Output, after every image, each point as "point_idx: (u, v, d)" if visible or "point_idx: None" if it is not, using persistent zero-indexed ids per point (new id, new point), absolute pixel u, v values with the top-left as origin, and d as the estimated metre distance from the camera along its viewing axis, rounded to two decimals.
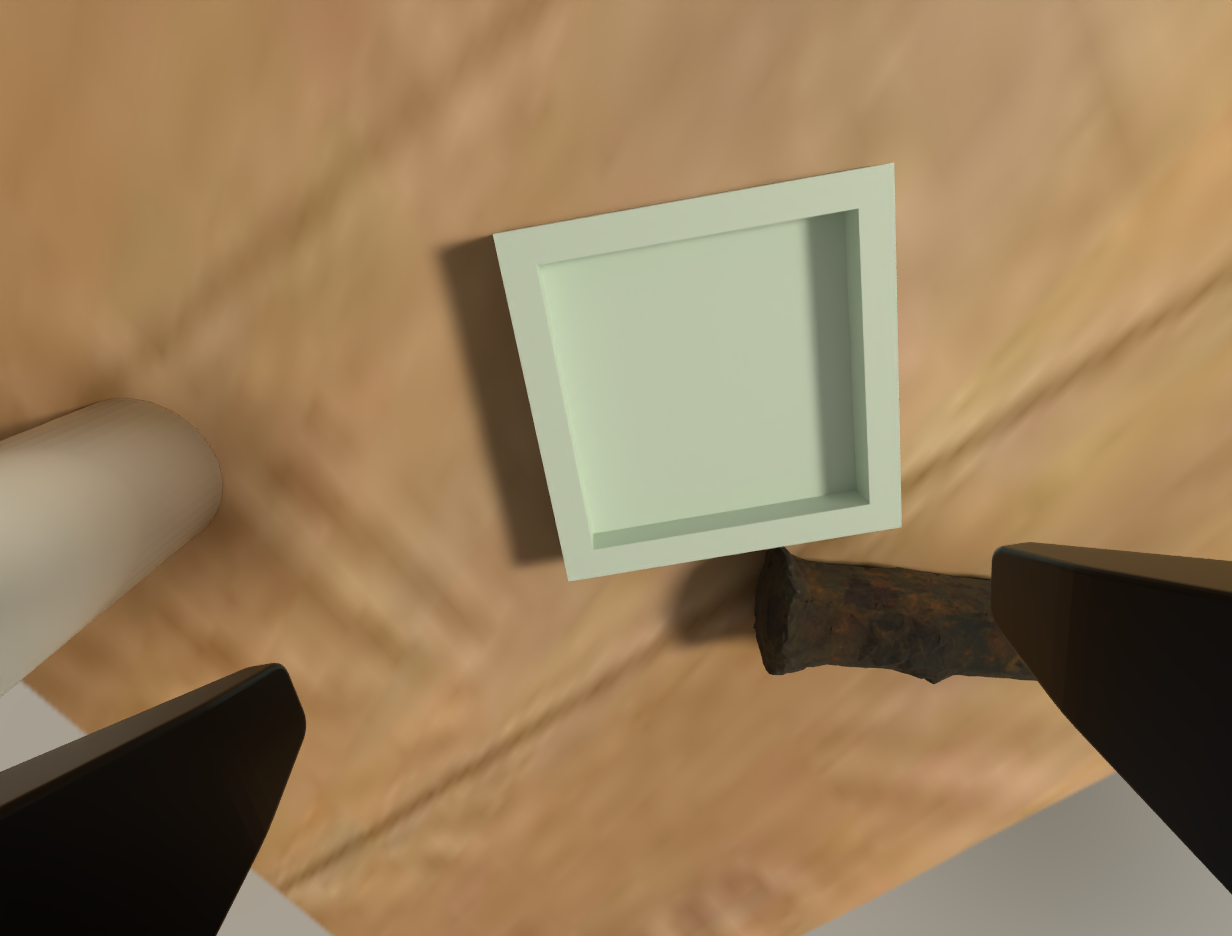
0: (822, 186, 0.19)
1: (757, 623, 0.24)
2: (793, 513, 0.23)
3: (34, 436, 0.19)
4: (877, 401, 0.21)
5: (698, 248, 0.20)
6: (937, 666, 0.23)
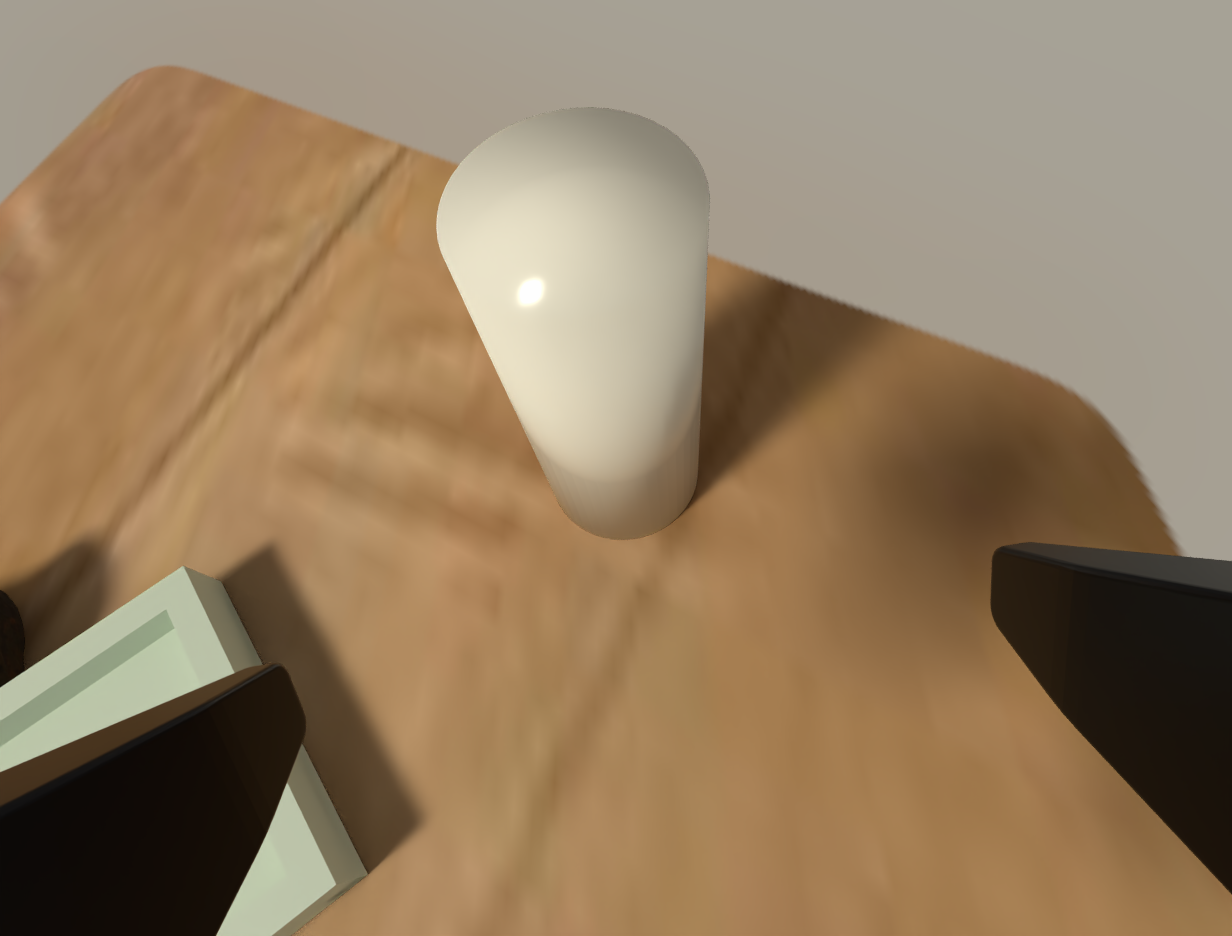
0: None
1: None
2: None
3: (650, 488, 0.20)
4: None
5: None
6: None
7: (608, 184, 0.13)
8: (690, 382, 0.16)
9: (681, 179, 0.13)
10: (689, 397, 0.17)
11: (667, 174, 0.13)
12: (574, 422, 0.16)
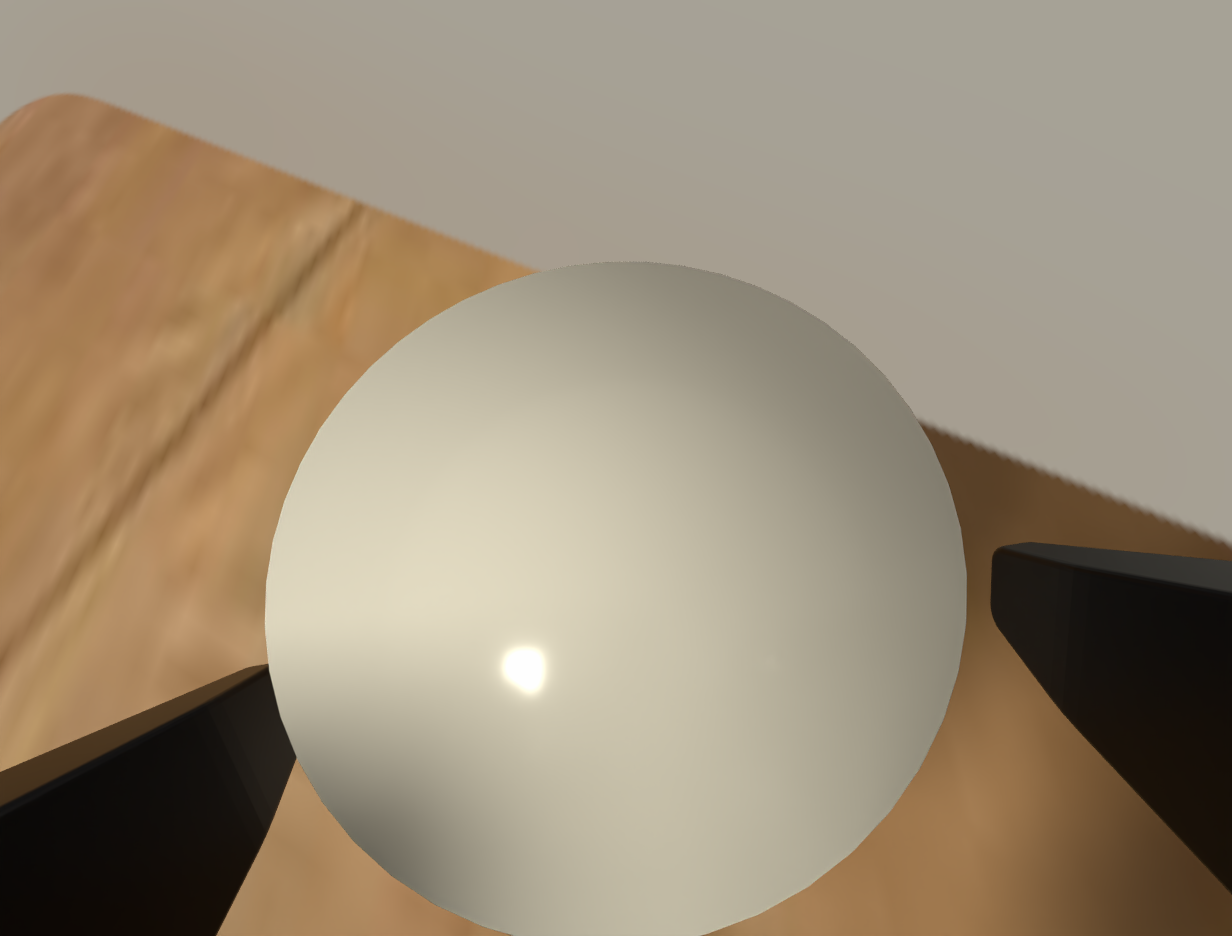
0: None
1: None
2: None
3: None
4: None
5: None
6: None
7: (691, 477, 0.05)
8: None
9: (878, 471, 0.05)
10: None
11: (840, 454, 0.05)
12: None
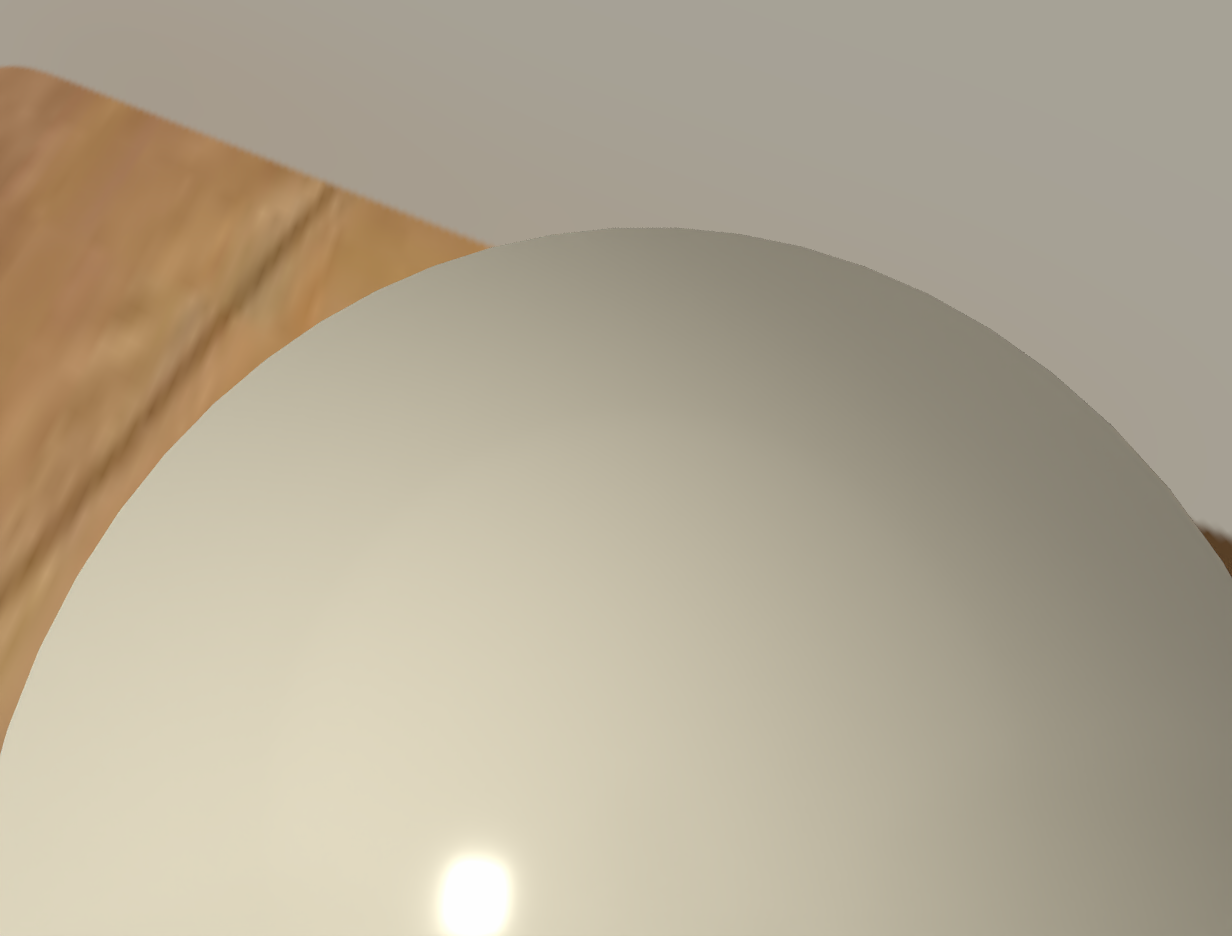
0: None
1: None
2: None
3: None
4: None
5: None
6: None
7: (771, 618, 0.03)
8: None
9: (1126, 613, 0.03)
10: None
11: (1048, 577, 0.03)
12: None
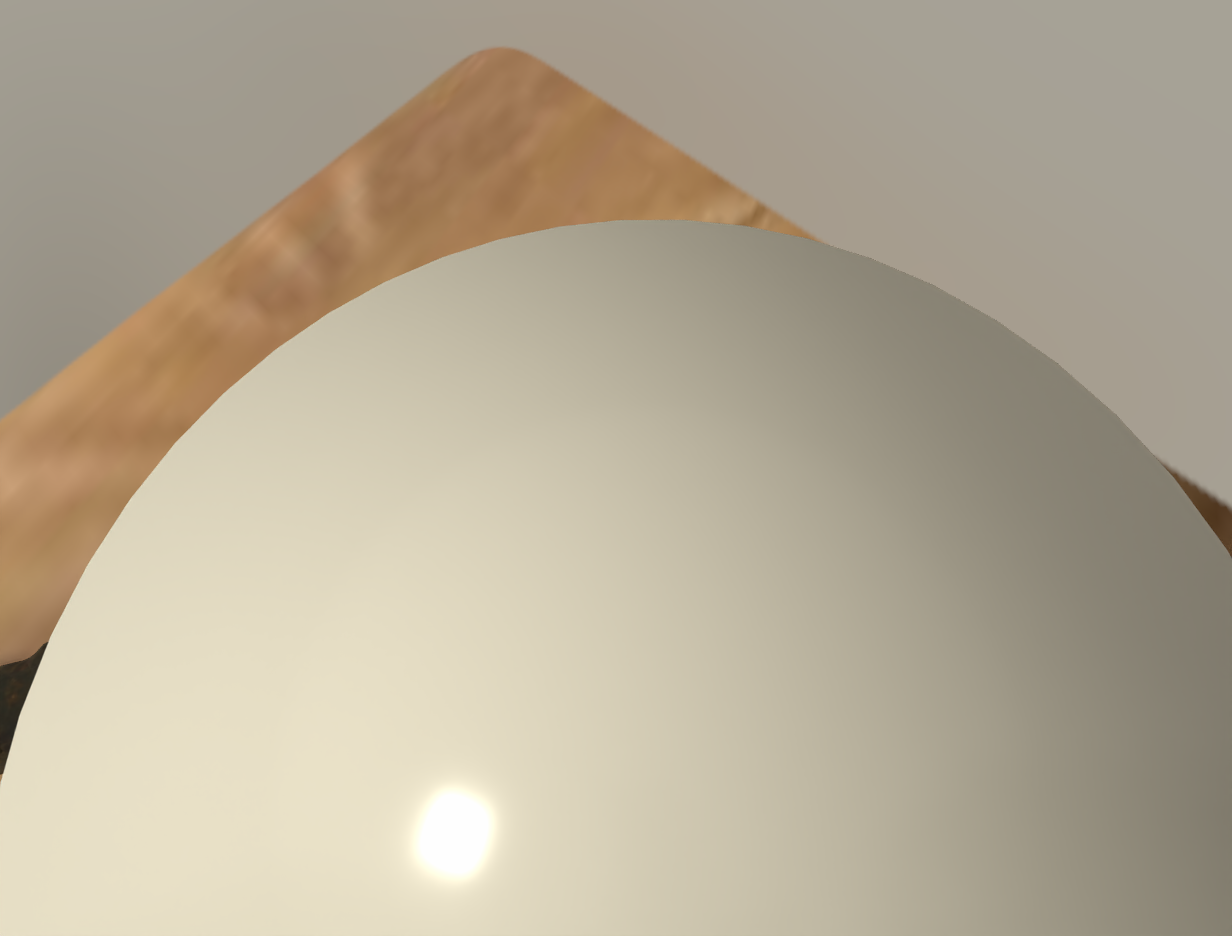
0: None
1: None
2: None
3: None
4: None
5: None
6: None
7: (780, 608, 0.03)
8: None
9: (1131, 600, 0.03)
10: None
11: (1054, 565, 0.03)
12: None
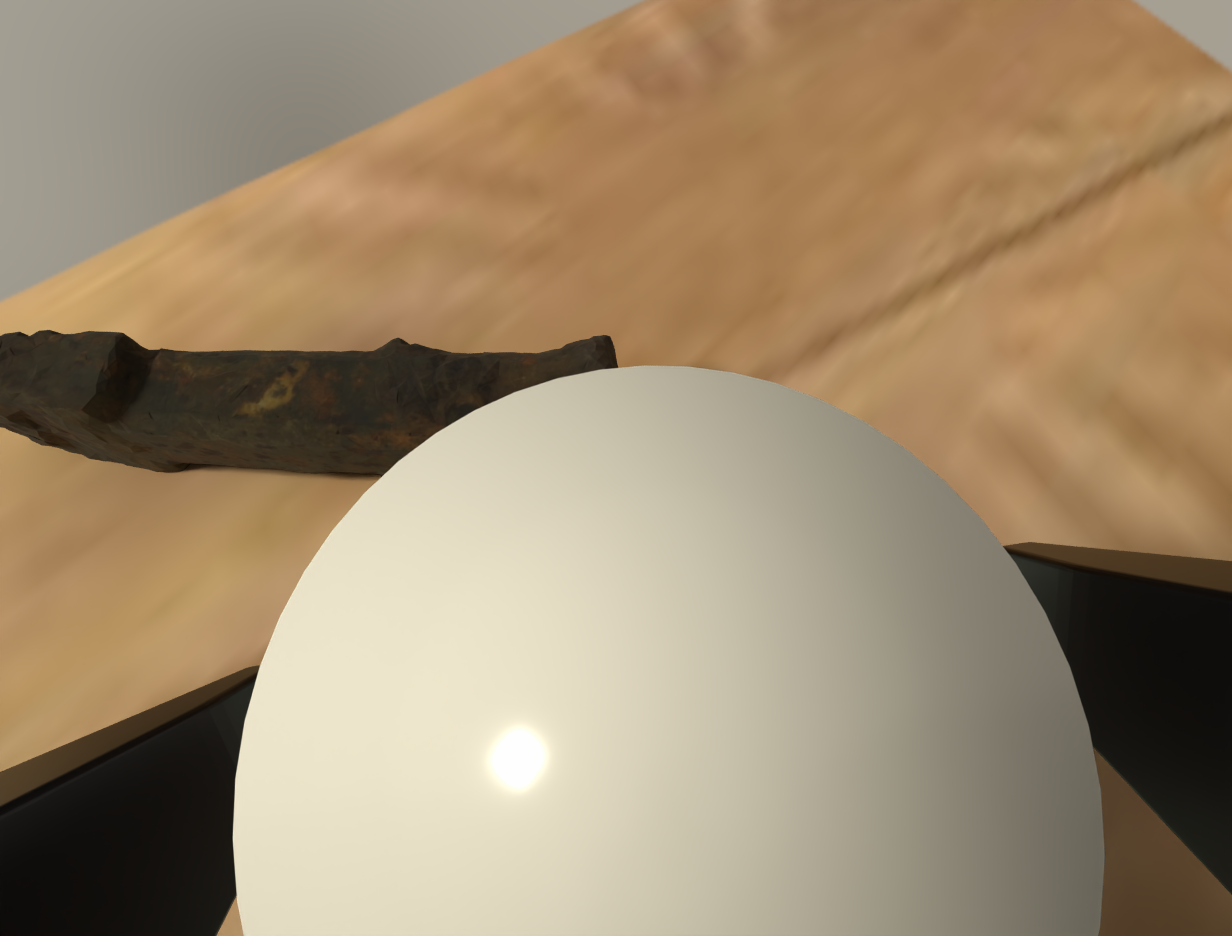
0: None
1: None
2: None
3: None
4: None
5: None
6: (397, 360, 0.18)
7: (752, 650, 0.04)
8: None
9: (981, 646, 0.04)
10: None
11: (933, 622, 0.04)
12: None
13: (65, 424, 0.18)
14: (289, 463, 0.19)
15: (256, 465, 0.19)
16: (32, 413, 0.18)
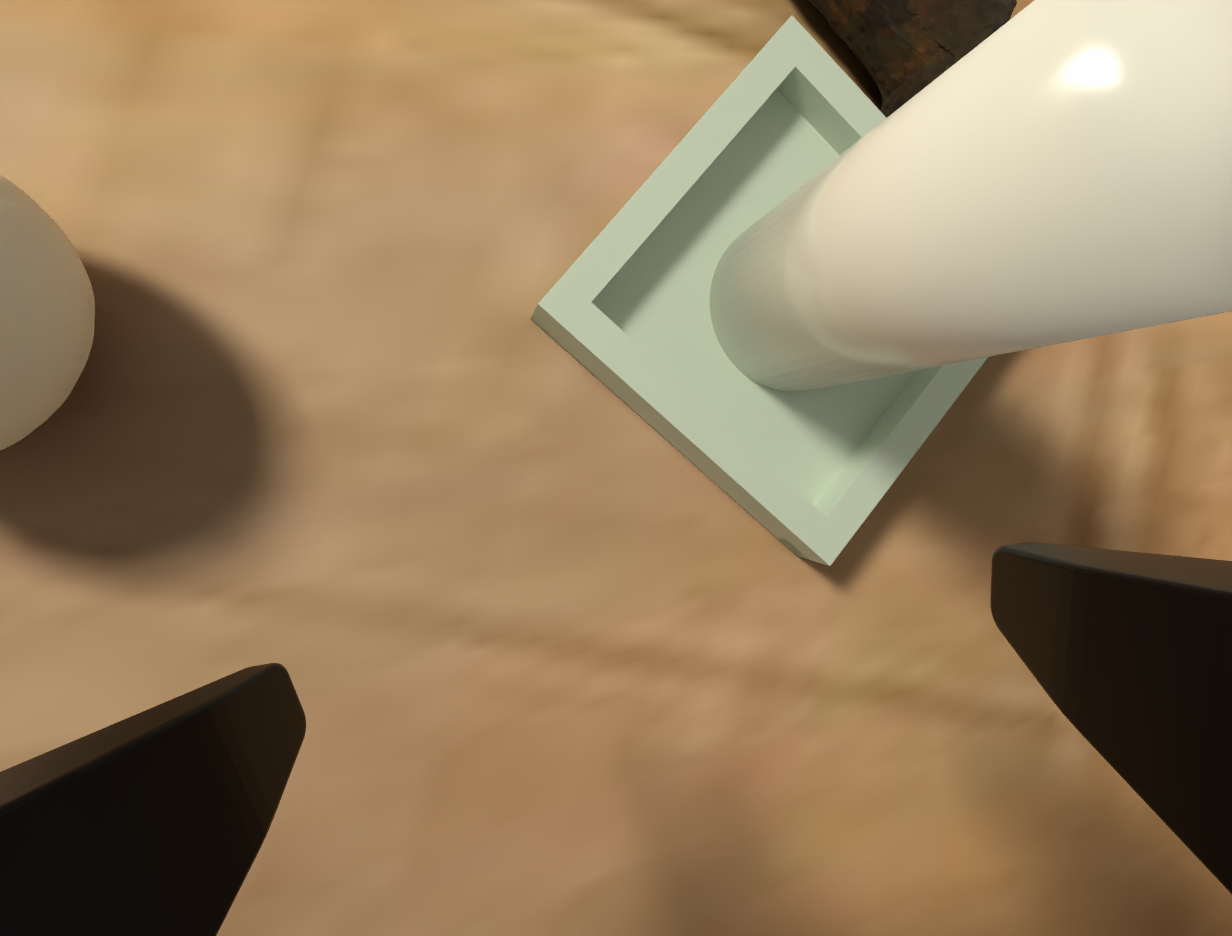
0: (600, 346, 0.18)
1: None
2: (848, 132, 0.20)
3: (835, 371, 0.17)
4: (712, 142, 0.19)
5: (703, 402, 0.20)
6: None
7: None
8: None
9: None
10: None
11: None
12: (910, 288, 0.12)
13: None
14: None
15: None
16: None
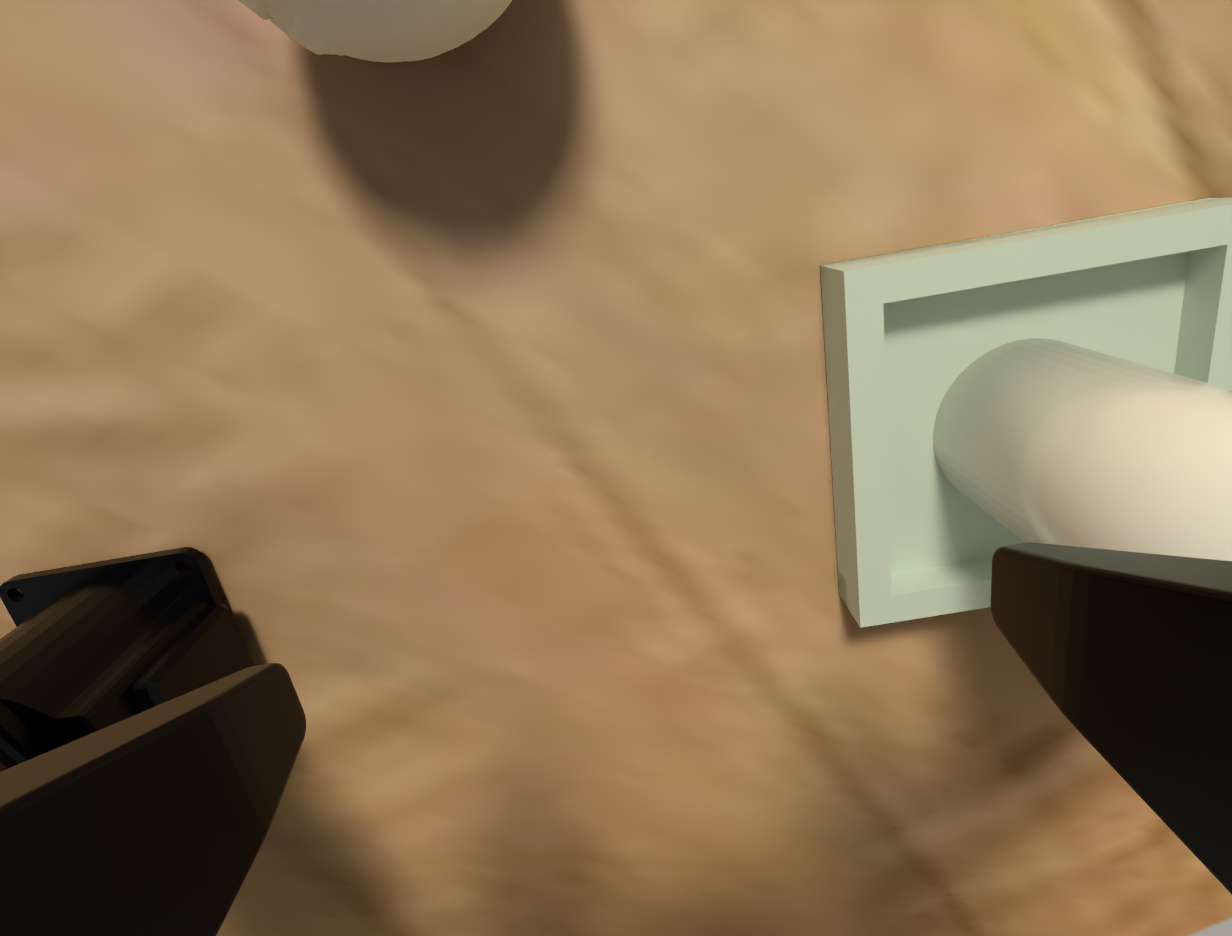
0: (857, 343, 0.19)
1: None
2: (1206, 333, 0.19)
3: (1012, 521, 0.18)
4: (1097, 253, 0.18)
5: None
6: None
7: None
8: None
9: None
10: None
11: None
12: None
13: None
14: None
15: None
16: None
